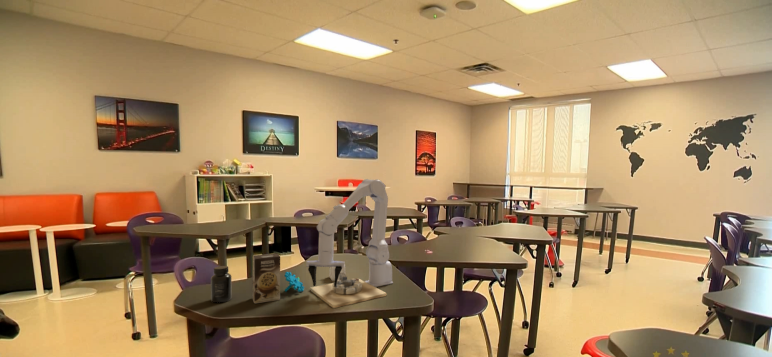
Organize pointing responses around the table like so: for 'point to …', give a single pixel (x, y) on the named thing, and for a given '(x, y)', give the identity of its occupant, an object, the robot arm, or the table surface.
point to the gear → (293, 282)
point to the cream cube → (332, 272)
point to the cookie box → (266, 278)
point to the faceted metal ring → (346, 290)
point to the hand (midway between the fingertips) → (325, 285)
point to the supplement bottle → (221, 285)
